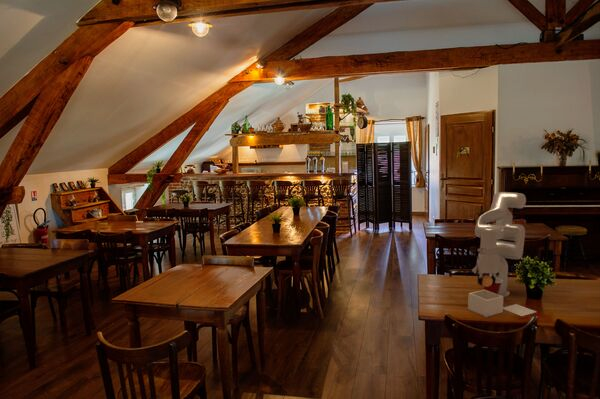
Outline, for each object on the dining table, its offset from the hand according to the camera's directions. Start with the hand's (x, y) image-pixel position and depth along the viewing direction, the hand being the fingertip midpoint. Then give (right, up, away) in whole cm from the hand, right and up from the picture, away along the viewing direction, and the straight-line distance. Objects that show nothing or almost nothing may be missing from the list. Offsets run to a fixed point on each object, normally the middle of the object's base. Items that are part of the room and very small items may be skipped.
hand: (486, 284), depth 225 cm
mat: (+18, -15, +2) cm, 23 cm away
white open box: (0, -15, +2) cm, 15 cm away
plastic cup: (+12, -12, +20) cm, 26 cm away
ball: (0, -1, 0) cm, 1 cm away
